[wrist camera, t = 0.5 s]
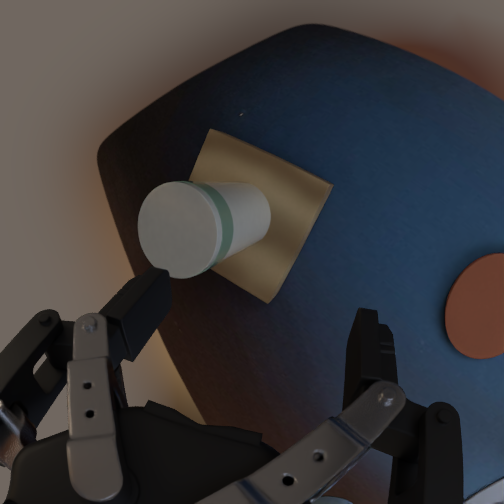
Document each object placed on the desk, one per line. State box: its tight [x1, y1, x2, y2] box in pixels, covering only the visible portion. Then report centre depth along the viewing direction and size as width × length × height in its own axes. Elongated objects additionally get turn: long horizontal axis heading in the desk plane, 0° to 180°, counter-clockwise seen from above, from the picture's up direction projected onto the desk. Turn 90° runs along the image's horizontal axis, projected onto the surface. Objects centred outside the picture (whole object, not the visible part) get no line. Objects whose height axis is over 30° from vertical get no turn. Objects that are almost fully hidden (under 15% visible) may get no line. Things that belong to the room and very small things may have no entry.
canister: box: [138, 181, 271, 278], centre depth 24 cm, size 6×6×10 cm
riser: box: [189, 129, 334, 303], centre depth 30 cm, size 12×12×3 cm
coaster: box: [444, 253, 504, 359], centre depth 24 cm, size 11×11×1 cm
